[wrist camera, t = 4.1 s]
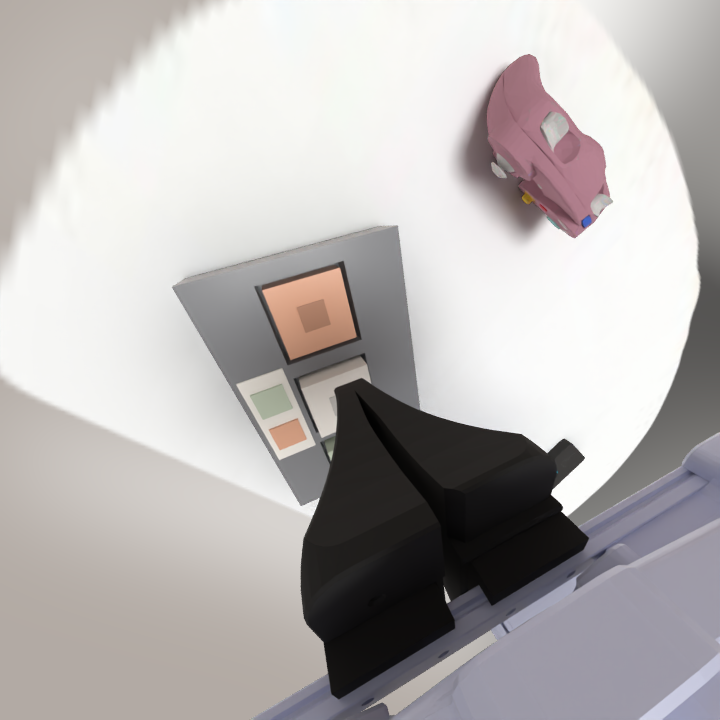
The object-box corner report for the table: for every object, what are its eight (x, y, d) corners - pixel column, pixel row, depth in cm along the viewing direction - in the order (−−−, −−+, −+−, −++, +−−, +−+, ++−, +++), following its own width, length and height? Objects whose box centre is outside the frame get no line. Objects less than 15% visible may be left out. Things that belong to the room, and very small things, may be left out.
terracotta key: (350, 329, 18) (357, 337, 17) (288, 350, 17) (290, 360, 16) (333, 264, 16) (340, 267, 14) (261, 285, 15) (262, 290, 14)
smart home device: (587, 459, 41) (498, 541, 44) (575, 451, 42) (490, 531, 45) (572, 443, 37) (475, 536, 40) (560, 435, 38) (467, 525, 41)
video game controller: (449, 134, 17) (494, 162, 12) (513, 43, 14) (599, 38, 10) (526, 219, 22) (578, 262, 17) (585, 164, 19) (665, 198, 14)
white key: (371, 402, 20) (379, 414, 19) (317, 424, 19) (321, 438, 18) (359, 354, 18) (367, 364, 16) (298, 377, 17) (301, 389, 16)
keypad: (411, 431, 26) (426, 451, 24) (297, 481, 24) (301, 508, 22) (380, 226, 17) (399, 225, 14) (184, 278, 14) (170, 287, 12)
